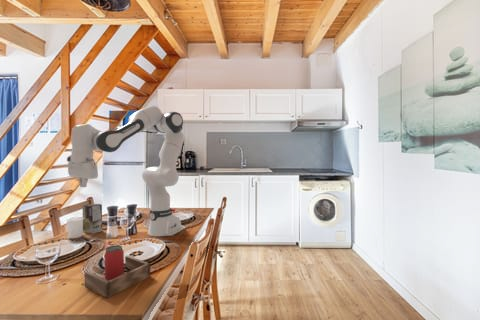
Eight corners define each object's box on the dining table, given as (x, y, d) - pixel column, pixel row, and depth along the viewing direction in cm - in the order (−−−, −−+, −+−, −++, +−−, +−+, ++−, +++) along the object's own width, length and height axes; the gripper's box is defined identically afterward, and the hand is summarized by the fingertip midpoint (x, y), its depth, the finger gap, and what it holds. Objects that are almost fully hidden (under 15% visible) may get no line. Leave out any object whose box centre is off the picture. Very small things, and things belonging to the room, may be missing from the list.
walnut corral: (127, 267, 107) (127, 255, 107) (150, 276, 100) (150, 263, 100) (84, 285, 93) (84, 272, 92) (107, 298, 85) (107, 283, 85)
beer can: (117, 284, 94) (117, 252, 93) (101, 283, 94) (100, 251, 94) (127, 275, 100) (127, 245, 100) (111, 274, 101) (111, 244, 101)
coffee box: (102, 230, 154) (102, 204, 153) (92, 234, 148) (92, 206, 147) (92, 228, 158) (92, 202, 157) (82, 231, 152) (81, 204, 151)
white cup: (73, 234, 148) (73, 216, 148) (86, 234, 148) (86, 217, 147) (63, 238, 140) (63, 220, 140) (77, 239, 140) (77, 221, 139)
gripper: (101, 158, 119) (101, 188, 120) (78, 157, 130) (79, 184, 131) (87, 159, 114) (88, 189, 115) (64, 157, 125) (65, 186, 125)
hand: (83, 187), depth 123 cm, fingers closed
